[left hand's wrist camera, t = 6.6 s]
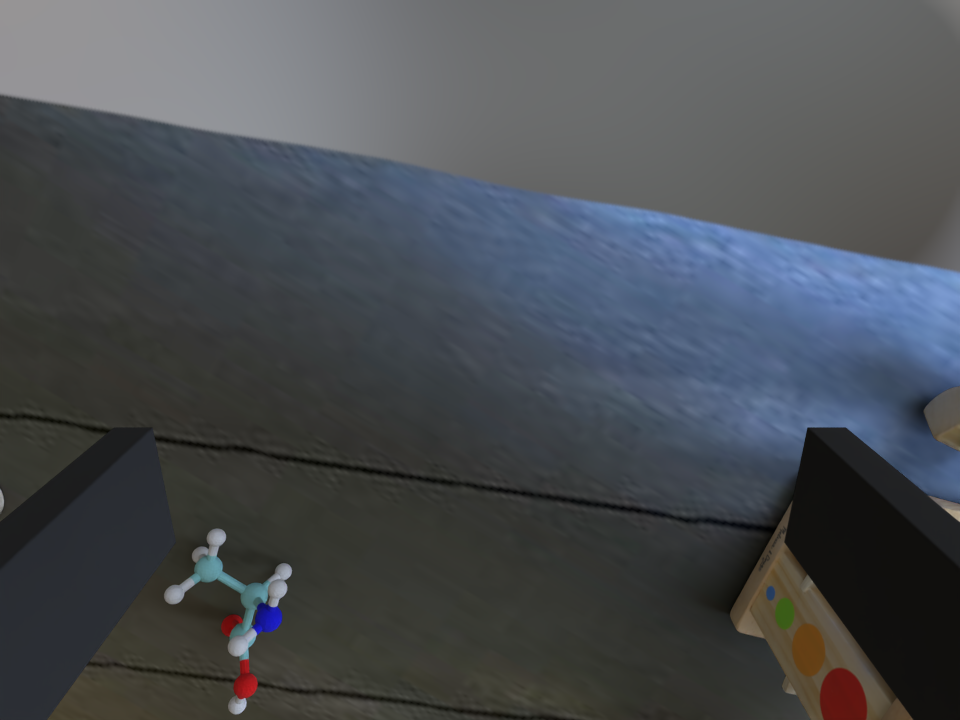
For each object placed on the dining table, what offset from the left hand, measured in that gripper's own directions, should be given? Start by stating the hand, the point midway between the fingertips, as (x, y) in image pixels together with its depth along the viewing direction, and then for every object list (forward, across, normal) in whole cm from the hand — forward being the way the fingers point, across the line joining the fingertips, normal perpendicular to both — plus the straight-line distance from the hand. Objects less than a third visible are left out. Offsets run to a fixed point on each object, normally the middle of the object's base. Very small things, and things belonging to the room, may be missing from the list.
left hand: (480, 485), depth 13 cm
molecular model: (+28, +17, +25) cm, 41 cm away
